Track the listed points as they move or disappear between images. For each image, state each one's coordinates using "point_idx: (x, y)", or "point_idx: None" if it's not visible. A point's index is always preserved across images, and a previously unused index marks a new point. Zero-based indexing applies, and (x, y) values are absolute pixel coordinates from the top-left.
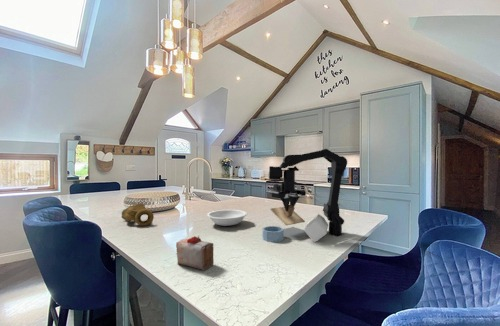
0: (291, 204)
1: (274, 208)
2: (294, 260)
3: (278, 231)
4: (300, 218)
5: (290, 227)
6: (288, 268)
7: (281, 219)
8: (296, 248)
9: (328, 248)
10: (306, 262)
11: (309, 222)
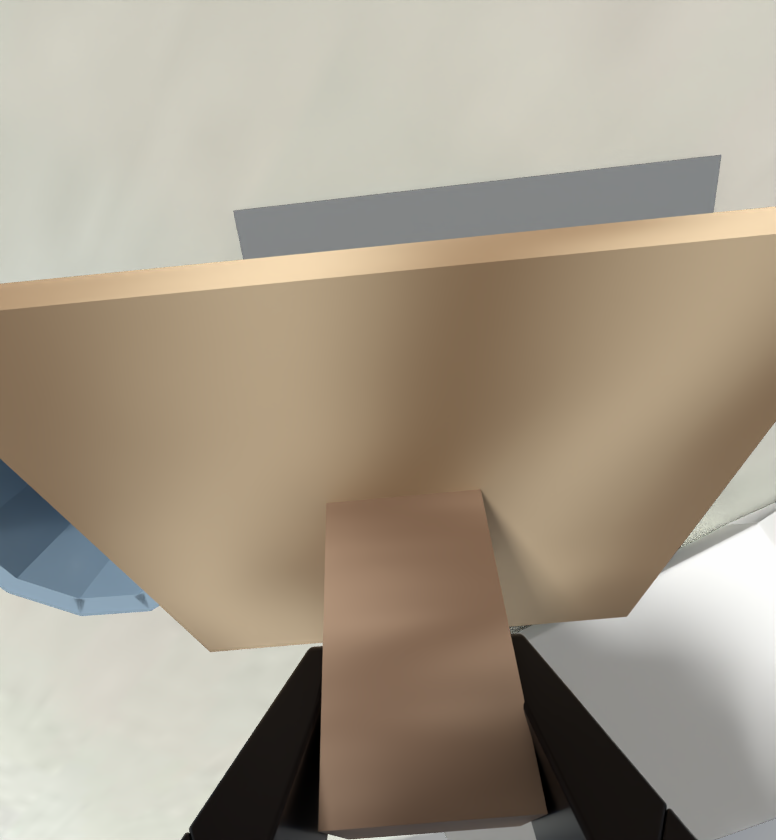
0: (557, 833)
1: (70, 325)
2: (103, 781)
3: (96, 606)
4: (613, 588)
5: (655, 164)
6: (22, 818)
7: (162, 606)
8: (229, 679)
9: None
10: (157, 817)
11: (655, 642)
